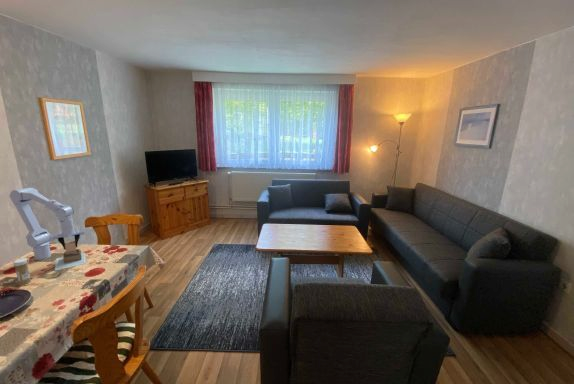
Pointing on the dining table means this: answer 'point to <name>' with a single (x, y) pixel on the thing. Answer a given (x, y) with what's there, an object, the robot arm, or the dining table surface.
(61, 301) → the dining table surface
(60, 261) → the board
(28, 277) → the spice jar
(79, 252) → the frame
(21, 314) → the dining table surface
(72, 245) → the terracotta block
